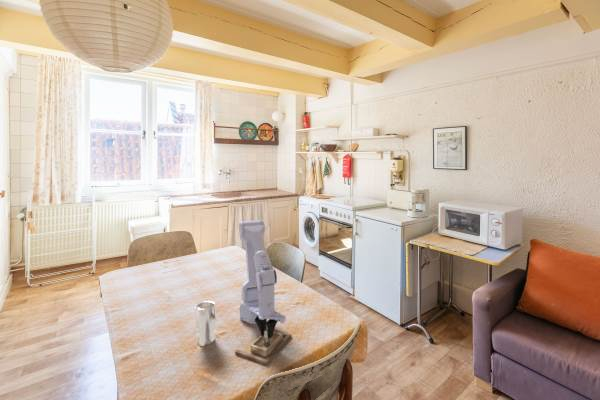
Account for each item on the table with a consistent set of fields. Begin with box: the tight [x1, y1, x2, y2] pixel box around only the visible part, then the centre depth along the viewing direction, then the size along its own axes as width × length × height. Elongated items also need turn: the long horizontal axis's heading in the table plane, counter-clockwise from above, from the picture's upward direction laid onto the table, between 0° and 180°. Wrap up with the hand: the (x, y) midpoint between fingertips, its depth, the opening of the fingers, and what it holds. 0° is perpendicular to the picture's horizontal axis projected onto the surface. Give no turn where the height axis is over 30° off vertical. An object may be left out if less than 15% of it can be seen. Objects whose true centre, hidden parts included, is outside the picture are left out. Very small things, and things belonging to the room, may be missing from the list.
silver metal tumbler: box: [195, 300, 217, 347], centre depth 112 cm, size 7×7×15 cm
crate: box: [250, 328, 284, 358], centre depth 109 cm, size 7×11×6 cm, turn 154°
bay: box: [234, 326, 292, 366], centre depth 110 cm, size 13×18×2 cm
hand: (266, 335), depth 109 cm, fingers closed on crate, 2 cm apart
